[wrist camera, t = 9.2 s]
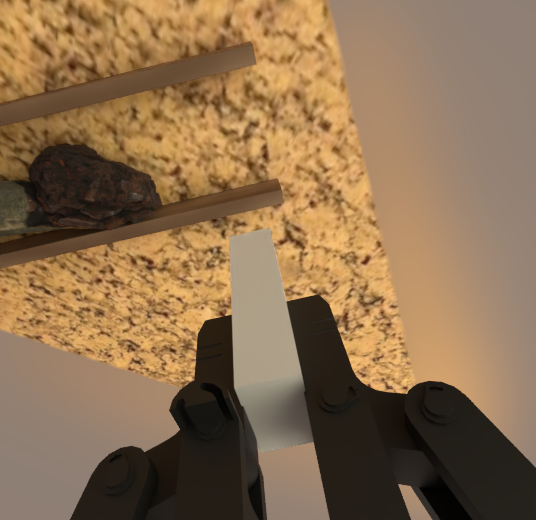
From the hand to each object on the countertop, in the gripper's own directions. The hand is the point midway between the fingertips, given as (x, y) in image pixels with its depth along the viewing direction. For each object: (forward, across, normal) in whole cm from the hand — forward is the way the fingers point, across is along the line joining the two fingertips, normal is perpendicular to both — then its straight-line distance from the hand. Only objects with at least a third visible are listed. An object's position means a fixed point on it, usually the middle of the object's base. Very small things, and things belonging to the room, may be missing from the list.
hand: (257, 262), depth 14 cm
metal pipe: (+20, -16, -1) cm, 26 cm away
